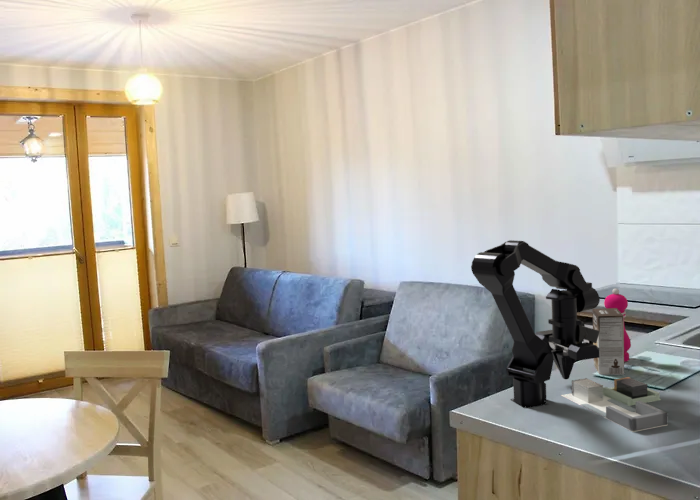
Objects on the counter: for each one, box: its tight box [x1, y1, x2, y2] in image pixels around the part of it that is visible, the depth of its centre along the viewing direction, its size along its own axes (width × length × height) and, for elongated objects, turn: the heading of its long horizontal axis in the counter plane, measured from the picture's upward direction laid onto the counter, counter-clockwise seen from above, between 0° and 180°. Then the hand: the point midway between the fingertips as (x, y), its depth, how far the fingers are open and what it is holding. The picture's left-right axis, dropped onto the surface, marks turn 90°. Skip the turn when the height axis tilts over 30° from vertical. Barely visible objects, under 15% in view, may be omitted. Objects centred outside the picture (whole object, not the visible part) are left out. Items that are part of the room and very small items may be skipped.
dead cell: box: [571, 377, 604, 403], centre depth 145 cm, size 4×6×4 cm, turn 16°
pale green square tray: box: [603, 386, 662, 407], centre depth 145 cm, size 9×9×2 cm
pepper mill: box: [603, 288, 632, 363], centre depth 174 cm, size 7×7×20 cm
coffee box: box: [591, 307, 625, 376], centre depth 165 cm, size 9×6×16 cm
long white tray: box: [560, 392, 668, 433], centre depth 138 cm, size 9×24×3 cm, turn 16°
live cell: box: [613, 376, 648, 399], centre depth 144 cm, size 4×6×4 cm, turn 16°
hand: (565, 378), depth 153 cm, fingers closed
